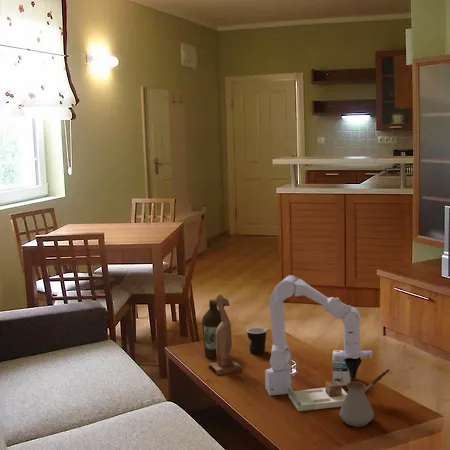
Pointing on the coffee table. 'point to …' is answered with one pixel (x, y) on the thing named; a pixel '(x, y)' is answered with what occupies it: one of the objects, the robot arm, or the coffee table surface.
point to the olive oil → (211, 329)
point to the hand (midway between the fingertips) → (352, 377)
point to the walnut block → (333, 388)
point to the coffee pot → (358, 404)
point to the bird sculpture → (224, 342)
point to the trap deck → (315, 399)
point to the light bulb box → (340, 370)
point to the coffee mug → (256, 340)
